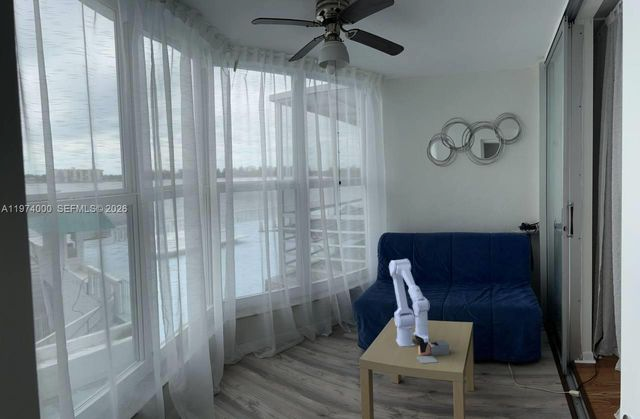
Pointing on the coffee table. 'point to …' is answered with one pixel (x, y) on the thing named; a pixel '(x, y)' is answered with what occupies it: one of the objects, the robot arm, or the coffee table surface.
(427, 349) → the salmon pink brick
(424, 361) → the pad
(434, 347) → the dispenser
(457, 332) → the coffee table surface
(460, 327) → the coffee table surface
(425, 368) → the coffee table surface
